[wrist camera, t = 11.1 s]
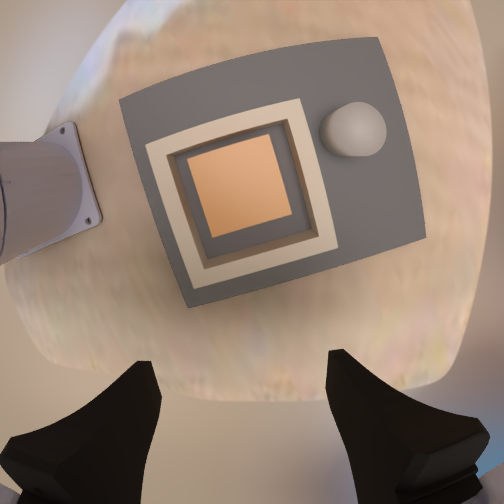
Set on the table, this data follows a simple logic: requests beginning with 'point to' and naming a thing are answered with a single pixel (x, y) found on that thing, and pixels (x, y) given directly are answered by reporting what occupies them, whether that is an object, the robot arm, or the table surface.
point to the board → (281, 163)
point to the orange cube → (240, 185)
